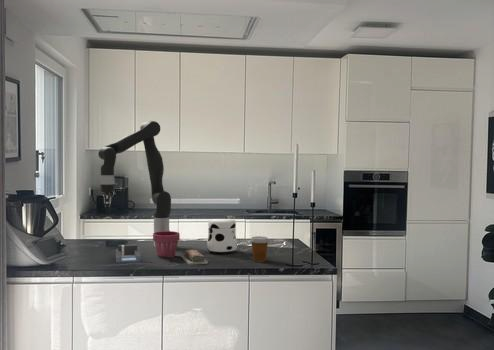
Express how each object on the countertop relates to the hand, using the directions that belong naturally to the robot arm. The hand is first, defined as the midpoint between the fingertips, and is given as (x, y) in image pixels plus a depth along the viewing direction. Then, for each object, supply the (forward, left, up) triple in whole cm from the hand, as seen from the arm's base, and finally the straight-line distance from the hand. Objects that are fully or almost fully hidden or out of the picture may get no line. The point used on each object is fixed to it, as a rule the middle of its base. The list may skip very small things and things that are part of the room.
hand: (107, 212), depth 261 cm
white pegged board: (-10, +18, -23) cm, 31 cm away
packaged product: (-43, +30, -23) cm, 58 cm away
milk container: (-62, +12, -23) cm, 67 cm away
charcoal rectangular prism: (-10, +12, -22) cm, 27 cm away
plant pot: (-30, +17, -23) cm, 41 cm away
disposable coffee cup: (-76, +38, -23) cm, 88 cm away
